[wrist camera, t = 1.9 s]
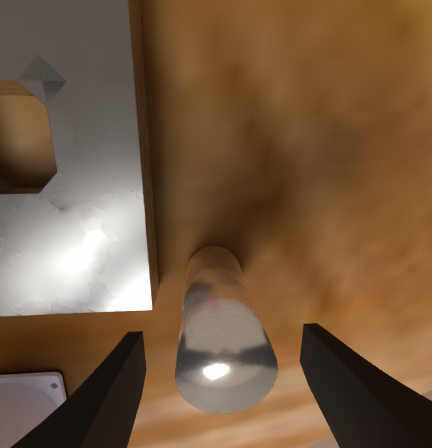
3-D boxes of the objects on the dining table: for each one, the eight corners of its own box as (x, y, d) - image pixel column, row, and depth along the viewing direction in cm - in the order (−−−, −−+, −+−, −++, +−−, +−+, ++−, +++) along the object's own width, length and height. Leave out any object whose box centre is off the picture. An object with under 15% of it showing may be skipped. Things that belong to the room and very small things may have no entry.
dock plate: (159, 285, 18) (152, 309, 15) (-43, 293, 17) (-91, 320, 14) (136, -55, 13) (118, -116, 10) (-155, -71, 12) (-267, -144, 9)
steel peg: (239, 294, 19) (274, 410, 10) (187, 296, 19) (177, 417, 10) (240, 245, 18) (281, 327, 9) (185, 246, 18) (172, 332, 9)
